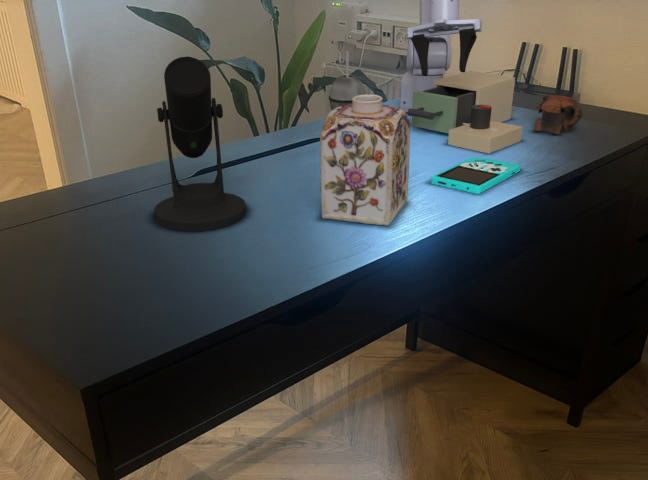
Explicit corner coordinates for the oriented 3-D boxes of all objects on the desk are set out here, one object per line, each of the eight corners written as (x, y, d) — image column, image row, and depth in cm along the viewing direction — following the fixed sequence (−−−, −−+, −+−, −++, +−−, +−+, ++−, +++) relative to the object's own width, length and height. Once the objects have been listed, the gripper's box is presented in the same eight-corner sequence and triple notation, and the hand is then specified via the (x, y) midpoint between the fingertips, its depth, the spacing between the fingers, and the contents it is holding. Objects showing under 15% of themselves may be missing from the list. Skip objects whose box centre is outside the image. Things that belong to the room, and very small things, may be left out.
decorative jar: (408, 202, 124) (414, 91, 114) (390, 227, 115) (394, 108, 105) (341, 195, 127) (341, 87, 118) (318, 219, 118) (316, 103, 109)
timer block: (445, 144, 153) (446, 128, 152) (478, 132, 161) (479, 117, 159) (489, 153, 147) (490, 137, 145) (520, 141, 154) (522, 125, 153)
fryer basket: (438, 139, 153) (441, 102, 150) (397, 130, 160) (399, 95, 156) (486, 122, 164) (489, 88, 160) (446, 114, 171) (448, 81, 167)
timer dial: (466, 127, 153) (468, 105, 151) (477, 123, 155) (479, 102, 153) (482, 130, 150) (484, 108, 148) (493, 126, 153) (495, 105, 151)
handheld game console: (521, 171, 137) (522, 164, 136) (479, 194, 127) (480, 187, 126) (474, 161, 143) (474, 154, 142) (429, 183, 132) (430, 175, 132)
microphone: (155, 238, 113) (130, 64, 99) (154, 200, 127) (133, 44, 114) (252, 229, 115) (240, 58, 102) (240, 193, 129) (228, 40, 116)
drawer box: (475, 131, 161) (479, 87, 157) (431, 122, 169) (433, 80, 164) (510, 118, 170) (515, 77, 165) (466, 110, 177) (470, 70, 172)
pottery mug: (520, 131, 162) (531, 94, 162) (548, 145, 168) (558, 109, 167) (564, 128, 152) (575, 88, 152) (592, 143, 157) (603, 104, 157)
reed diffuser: (366, 152, 149) (368, 46, 138) (364, 163, 143) (366, 53, 132) (330, 152, 150) (329, 46, 139) (327, 163, 144) (326, 53, 133)
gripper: (403, 0, 145) (402, 72, 147) (477, -11, 139) (475, 65, 141) (413, 9, 151) (412, 79, 153) (484, 0, 145) (482, 72, 148)
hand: (443, 73), depth 148 cm, fingers open, 7 cm apart
